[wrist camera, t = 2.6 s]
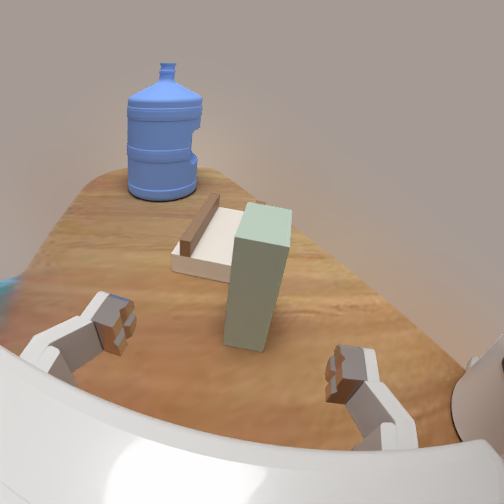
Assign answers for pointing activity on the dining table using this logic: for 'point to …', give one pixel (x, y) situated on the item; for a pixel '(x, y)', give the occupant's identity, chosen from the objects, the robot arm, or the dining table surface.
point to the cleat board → (208, 242)
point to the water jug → (162, 139)
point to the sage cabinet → (256, 274)
